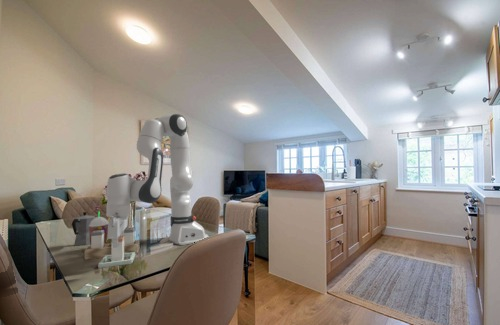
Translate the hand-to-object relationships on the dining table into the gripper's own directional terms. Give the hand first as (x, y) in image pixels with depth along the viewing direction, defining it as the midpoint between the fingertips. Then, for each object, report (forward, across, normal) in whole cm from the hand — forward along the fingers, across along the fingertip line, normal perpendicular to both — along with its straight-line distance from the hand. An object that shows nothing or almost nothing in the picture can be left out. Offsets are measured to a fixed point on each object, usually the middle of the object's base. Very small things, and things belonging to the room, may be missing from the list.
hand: (118, 243), depth 98 cm
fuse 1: (+7, +11, +10) cm, 17 cm away
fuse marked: (+8, 0, 0) cm, 8 cm away
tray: (+9, 0, 0) cm, 9 cm away
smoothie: (+9, +22, +13) cm, 27 cm away
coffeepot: (+9, +36, +24) cm, 44 cm away
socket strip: (+9, +11, +4) cm, 15 cm away
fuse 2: (+7, +11, -2) cm, 13 cm away
